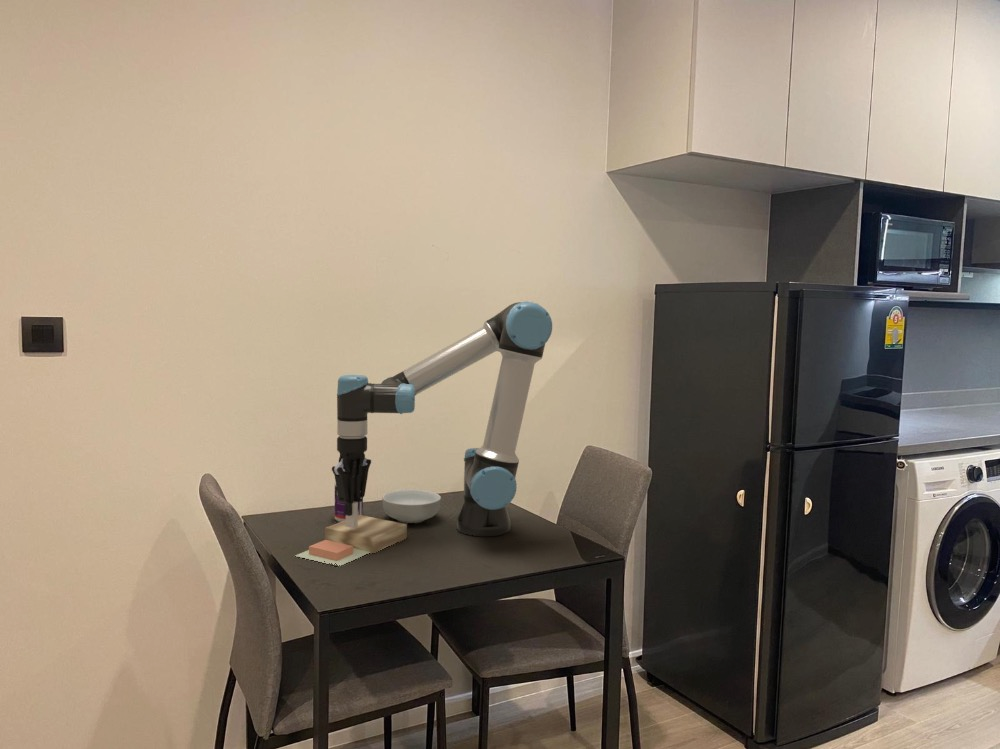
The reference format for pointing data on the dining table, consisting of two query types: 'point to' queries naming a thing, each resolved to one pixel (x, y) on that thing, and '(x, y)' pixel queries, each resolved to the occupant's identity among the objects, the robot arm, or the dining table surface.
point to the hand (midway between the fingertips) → (351, 526)
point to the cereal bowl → (411, 505)
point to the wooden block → (367, 533)
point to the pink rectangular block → (331, 550)
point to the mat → (356, 554)
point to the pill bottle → (343, 508)
